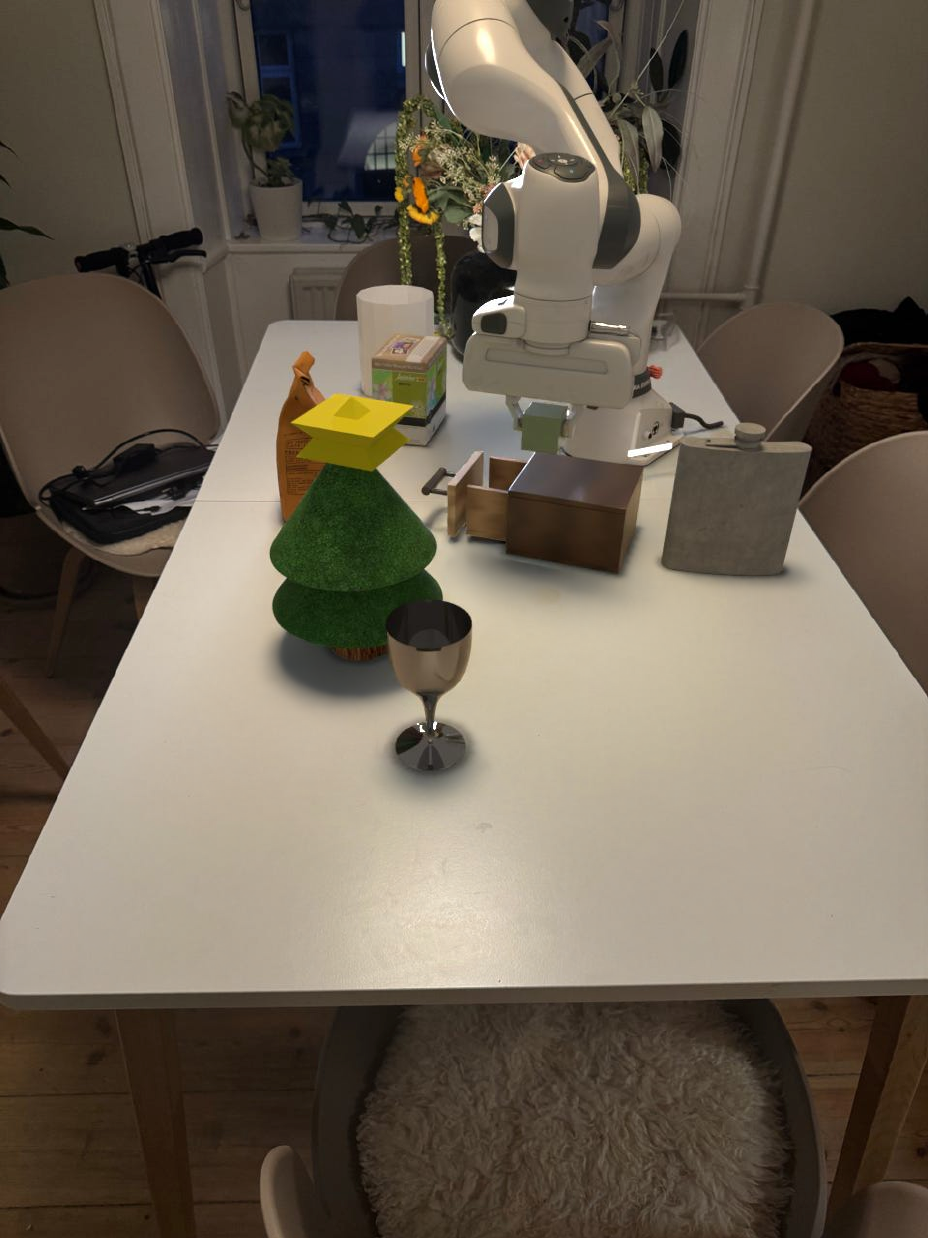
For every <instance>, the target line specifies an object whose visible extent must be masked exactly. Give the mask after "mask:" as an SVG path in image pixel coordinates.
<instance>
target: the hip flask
mask: <svg viewBox="0 0 928 1238" xmlns="http://www.w3.org/2000/svg"><path fill="white" fill-rule="evenodd" d="M733 431H734V432H733V434H734V436H733V437H697V436H684V438H682V439H681V440H680V443H679V446H678V454H677V459H676V467H675V471H674V472H675V473H674V480H673V485H672V490H671V497H670V504H669V505H670V506H669V510H668V516H667V524H666V530H665V535H664V543H663V547H662V554H661V555H662V556H661V559H660V561H661V562H660V563H661V564H662V566H664V567H665V568H667V569H669V570H670V569H671V570H677V571H683V572H690V573H691V572H692V573H700V574H712V575H726V576H727V575H728V576H774V575H779V574H781V573H782V570H783V566H784V562H785V558H786V555H787V551H788V546H789V543H790V539H791V535H792V531H793V527H794V524H795V523H794V522H795V518H796V515H797V511H798V507H799V503H800V499H801V494H802V490H803V487H804V484H805V483H804V482H805V479H806V475H807V471H808V467H809V463H810V459H811V454H812V451H813V447H812V446H811V445H810V444H808V443H805V442H801V441H762V439H764V438H765V435H766V431H767V430H766V428H765V427H764V426H763V425H761V424H758V423H754V422H740V423H737V424H736V425H735V426H734V430H733Z"/></svg>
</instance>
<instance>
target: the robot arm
mask: <svg viewBox="0 0 928 1238" xmlns="http://www.w3.org/2000/svg"><path fill="white" fill-rule="evenodd" d="M574 3H575V2H574V0H435V1H434V4H433V7H432V10H431V11H432V12H431V40H430V42H429V44H428V45H427V47H426V50H425V59H424V66H425V71H426V73H427V75H428V78H429V80H430V82H431V84H432V86H433V88H434V89H435V91H436V93H437V94H438V95H439V97H441V98H442V99H443V100H444V102H446V103H447V105H448V107H449V109H450V111H451V112H452V113H453V115H454V116H455V118H456V119H457V120H458V121H459V123H460V124H462V125H463V126H464V127H466V128H467V129H469V130H470V131H471V132H474V133H475V134H479V135H481V136H485V137H489V138H495V139H501V140H505V141H512V142H515V143H520V144H523V145H527V146H530V147H531V150H532V151H533V153H534V155H533V156H531V158H529V159H528V160H527V161H526V163H525V164H524V166H523V170H522V174H520V175H519V176H518V177H515V178H513V179H510V180H506V181H504V182H499V183H498V184H497V185H496V186H495V187H494V188H493V189H492V190H491V191H490V192H489V194H488V195H487V197H486V198H485V199H484V201H483V203H482V205H481V226H480V227H481V229H480V230H481V232H480V233H481V234H480V237H481V248H482V251H483V252H484V253H485V254H486V255H487V256H488V258H489V259H490V260H491V261H492V262H493V263H494V264H495V265H497V267H500V268H502V269H507V270H512V271H516V279H515V283H514V287H513V295H510V296H506V297H501V298H497V299H493V300H490V301H488V302H486V303H484V304H483V305H482V306H480V307H479V309H477V310H476V311H475V313H474V314H473V315H472V317H471V328H472V331H473V333H472V334H471V335H470V336H469V337H468V339H467V341H466V343H465V348H464V354H463V361H462V371H461V372H462V374H461V378H462V379H461V380H462V383H463V385H464V386H465V387H466V389H467V390H468V391H471V392H479V393H486V394H494V395H502V396H505V405H506V407H507V409H508V411H509V412H510V415H511V416H512V418H513V431H516V432H522V420H523V414H524V412H523V411H522V408H521V406H520V403H519V402H520V400H522V398H526V399H532V400H533V399H534V400H542V401H548V402H549V401H550V402H558V403H565V404H569V406H568V410H567V419H564V421H563V423H562V427H561V430H562V431H561V437H565V441H564V443H563V445H562V446H561V448H562V449H563V451H564V452H566V454H568V456H571V457H578V458H585V459H591V460H598V461H605V462H612V463H619V464H626V465H633V466H639V467H644V466H648V465H649V464H651V463H652V462H654V461H656V459H658V458H660V457H661V456H663V455H664V454H665V453H668V452H669V451H670V450H672V449H673V448H674V447H676V446H677V445H680V440H681V439H682V438H685V434H684V433H683V432H682V431H681V430H680V429H683V428H684V426H685V421H686V419H690V420H693V421H696V422H697V423H698V424H699V425H700V426H701V427H703V428H704V429H708V430H709V429H711V430H712V429H715V428H719V427H723V426H724V424H725V423H724V420H720V421H716V422H713V423H708V422H706V421H705V420H704V419H703V418H702V417H701V416H699V415H697V414H694V413H689V412H686V411H685V410H684V409H682V408H681V407H679V406H678V405H677V404H675V403H673V402H672V401H669V402H668V401H667V400H666V399H665V398H664V397H663V396H661V395H660V394H659V393H658V392H657V391H656V390H655V389H653V385H652V381H651V378H653V379H655V380H660V379H661V378H662V376H663V374H664V369H663V367H662V366H656V365H655V364H650V365H649V366H648V360H649V353H650V346H651V337H652V331H653V324H654V319H655V315H656V311H657V307H658V303H659V302H660V297H661V294H662V291H663V287H664V284H665V281H666V277H667V274H668V271H669V267H670V263H671V260H672V256H673V254H674V252H675V249H676V247H677V245H678V244H679V242H680V238H681V235H682V219H681V216H680V213H679V211H678V209H677V207H676V206H675V205H674V204H673V203H672V202H671V201H670V200H669V199H667V198H665V197H663V196H659V195H655V194H652V193H651V194H650V193H638V194H635V192H634V190H633V189H632V187H631V186H630V185H629V183H628V182H627V180H625V176H624V172H623V169H622V164H621V145H620V141H619V139H618V138H617V136H616V134H615V133H614V130H613V128H612V126H611V124H610V122H609V120H608V119H607V117H606V114H605V113H604V111H603V109H602V107H601V106H600V104H599V102H598V99H597V98H596V95H595V94H594V92H593V91H592V89H591V87H590V85H589V84H588V82H587V80H586V79H585V77H584V76H583V73H582V72H581V70H580V69H579V68H578V66H577V65H576V63H575V62H574V61H573V59H572V58H571V57H570V56H569V54H568V53H567V52H566V50H565V49H564V48H563V47H562V46H561V45H560V43H559V42H557V39H559V41H561V43H563V44H564V45H567V44H568V42H569V40H570V34H569V31H568V30H569V27H570V26H571V23H572V20H573V15H574Z"/></svg>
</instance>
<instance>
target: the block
mask: <svg viewBox="0 0 928 1238" xmlns="http://www.w3.org/2000/svg"><path fill="white" fill-rule="evenodd" d="M568 410H569V406H568V405H562V404H553V403H546V402H539V401H538V402H537V401H531V403H530V404H529V405H528V407H527V408H526V409H525V411H524V412H523V413H524V414H523V420H522V431H521V439H520V441H521V442H520V450H522V451H527V452H534V453H535V452H542V453H549V454H557V455H558V453H559V452H560V450H561V448H562V445H563V443H564V441H565V437H561V431H562V430H561V427H562V423H563V421H564V419H567V417H568V415H567V411H568Z"/></svg>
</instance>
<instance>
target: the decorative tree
mask: <svg viewBox="0 0 928 1238" xmlns="http://www.w3.org/2000/svg"><path fill="white" fill-rule="evenodd" d="M325 399H326V400H325V401H323V402H322V403H320V404H319V405H317V406H316V407H314V408H312V409H311V410H309V411H308V412H306V413H305V414H303V415H302V416H300V417H299V418H297V419H295V420H294V421H292V422H291V423H292V424H293V425H295V426H296V427H298V428H299V429H301V430H302V431H304V432H305V433H307V434H308V435H310V436H311V437H313V439H312V440H311V441H310V442H309V443H308V444H307V445H306V446H305V447H304V448H303V450H302V451H301V452H300V453H299V454H298V455H297V456H296V457H300V458H305V459H310V460H315V461H320V462H326V464H325V465H324V467H323V468H322V470H321V471H320V473H319V474H318V476H317V477H316V479H315V480H314V482H313V483H312V484H311V486H310V487H309V489H308V490H307V492H306V493H305V495H304V496H303V498H302V499H301V501H300V502H299V504H298V505H297V507H296V508H295V510H294V511H293V513H292V514H291V516H290V517H289V518H288V520H287V521H285V523H284V524H283V526H282V527H281V529H280V530H279V532H278V533H277V535H276V536H275V538H274V539H273V541H272V542H271V545H270V547H269V551H268V552H269V559H270V562H271V564H272V566H273V567H274V569H275V570H276V571H277V572H278V573H280V575H282V576H283V577H285V580H284V581H283V582H282V583H281V585H280V586H279V587H278V588H277V590H276V591H275V593H274V595H273V597H272V601H271V604H272V605H271V611H272V614H273V616H274V619H275V621H276V622H277V623H278V625H279V626H280V627H281V628H282V629H283V630H285V631H286V632H287V633H288V634H290V635H292V636H293V637H295V638H296V639H299V640H302V641H304V642H306V643H309V644H313V645H316V646H321V647H326V648H331V650H332V652H334V653H335V654H336V655H337V656H338V657H340V658H343V659H345V660H350V661H358V662H360V661H361V662H362V661H368V660H369V661H370V660H374V659H377V658H379V657H381V656H384V655H385V654H387V653H388V652H387V645H386V635H385V623H386V619H387V617H388V615H389V614H390V613H391V612H392V611H393V610H394V609H396V608H397V607H399V606H401V605H403V604H405V603H409V602H412V601H417V600H426V599H433V600H442V601H444V594H443V590H442V588H441V585H440V584H439V582H438V581H437V580H436V578H434V576H432V575H431V574H430V572H428V571H427V570H426V568H427V567H429V565H430V564H431V562H433V560H434V558H435V556H436V555H437V550H438V544H437V539H436V537H435V534H434V533H433V532H432V531H431V530H430V528H428V526H427V525H426V524H425V523H424V522H423V521H422V519H421V518H420V517H419V516H418V515H417V514H416V512H415V511H414V509H412V508H411V506H410V505H409V504H408V503H407V502H406V500H405V499H404V498H403V497H402V496H401V495H400V493H398V491H397V490H396V489H395V488H394V487H393V486H392V484H391V483H390V482H389V481H388V480H387V479H386V477H385V476H384V474H382V473H381V472H380V470H379V469H378V467H380V466H381V465H382V464H383V463H384V462H386V461H387V460H388V459H389V458H391V457H392V456H393V455H394V454H395V453H396V452H397V451H399V450H400V449H401V448H402V447H403V446H405V445H407V444H406V443H407V442H408V441H409V440H410V439H409V438H407V437H406V436H405V435H403V434H402V433H400V432H399V431H398V430H396V429H395V428H394V426H395V425H396V424H397V423H398V422H399V421H400V420H401V419H402V418H403V417H404V416H405V415H406V414H407V413H408V412H409V411H410V410H411V409H412V407H413V406H412V405H406V404H400V403H394V402H388V401H382V400H375V399H372V398H370V397H369V398H368V397H363V396H358V395H357V396H356V395H350V394H344V393H338V392H336V393H335V394H332V395H331V396H329V397H328V398H325Z"/></svg>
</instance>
